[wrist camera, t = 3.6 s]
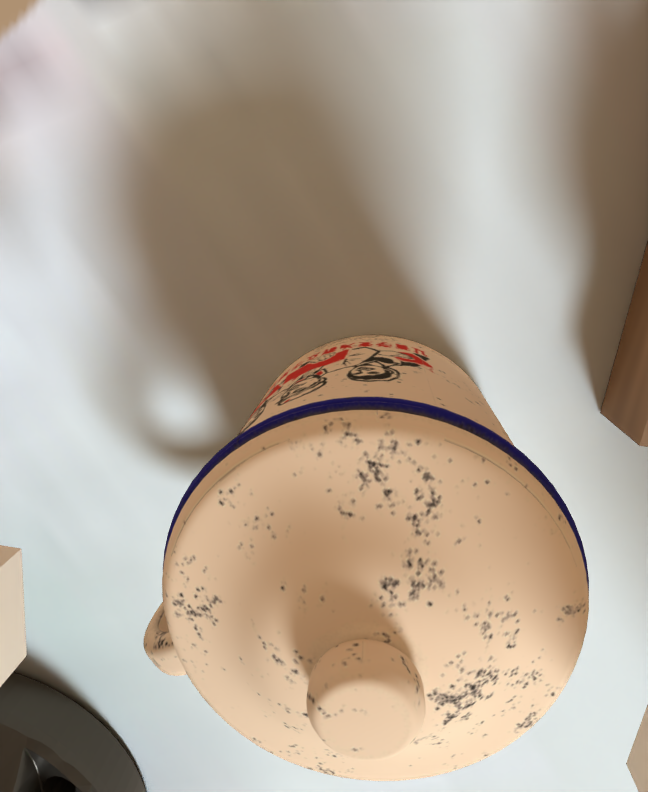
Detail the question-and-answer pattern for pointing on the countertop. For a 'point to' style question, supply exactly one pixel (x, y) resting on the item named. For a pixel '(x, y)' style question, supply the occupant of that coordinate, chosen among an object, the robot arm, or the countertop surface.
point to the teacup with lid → (373, 571)
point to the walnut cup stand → (632, 368)
